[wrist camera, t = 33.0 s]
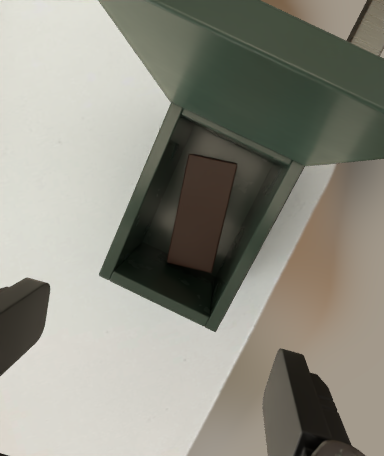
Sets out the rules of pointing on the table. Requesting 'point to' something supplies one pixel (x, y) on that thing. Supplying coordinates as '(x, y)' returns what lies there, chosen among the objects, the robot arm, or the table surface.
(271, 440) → the robot arm
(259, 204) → the green storage bin
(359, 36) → the bin lid
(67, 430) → the table surface
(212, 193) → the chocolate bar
